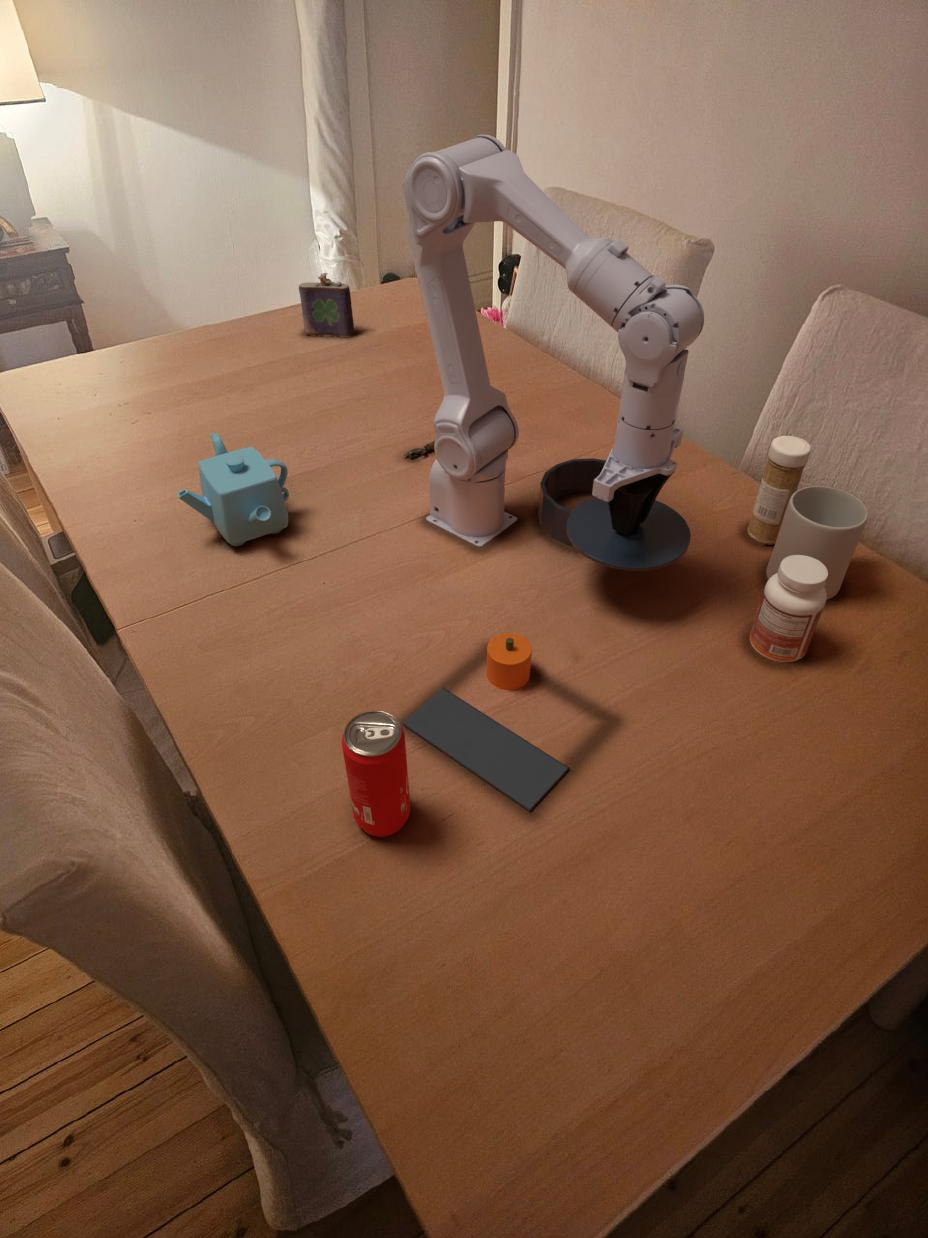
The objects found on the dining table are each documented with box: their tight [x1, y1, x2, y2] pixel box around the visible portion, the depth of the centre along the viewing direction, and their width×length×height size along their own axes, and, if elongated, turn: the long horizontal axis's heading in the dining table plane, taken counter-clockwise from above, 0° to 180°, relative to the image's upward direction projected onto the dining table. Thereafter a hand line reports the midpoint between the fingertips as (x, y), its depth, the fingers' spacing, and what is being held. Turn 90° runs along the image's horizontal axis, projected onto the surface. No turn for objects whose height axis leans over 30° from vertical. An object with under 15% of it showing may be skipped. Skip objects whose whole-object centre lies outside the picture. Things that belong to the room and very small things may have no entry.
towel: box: [402, 687, 570, 812], centre depth 83 cm, size 16×14×1 cm
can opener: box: [403, 440, 435, 459], centre depth 121 cm, size 9×2×1 cm, turn 123°
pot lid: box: [566, 496, 692, 572], centre depth 91 cm, size 14×14×5 cm
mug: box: [765, 485, 869, 601], centre depth 96 cm, size 12×8×11 cm
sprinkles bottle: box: [746, 435, 812, 546], centre depth 101 cm, size 5×5×13 cm
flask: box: [298, 272, 355, 338], centre depth 147 cm, size 9×3×11 cm, turn 84°
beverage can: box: [341, 710, 411, 838], centre depth 71 cm, size 5×5×12 cm
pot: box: [537, 457, 607, 548], centre depth 106 cm, size 13×13×6 cm
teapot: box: [175, 432, 290, 547], centre depth 104 cm, size 18×14×10 cm
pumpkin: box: [486, 632, 533, 691], centre depth 86 cm, size 5×5×5 cm
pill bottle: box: [749, 555, 828, 663], centre depth 87 cm, size 6×6×11 cm
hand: (628, 524), depth 92 cm, fingers closed on pot lid, 2 cm apart
